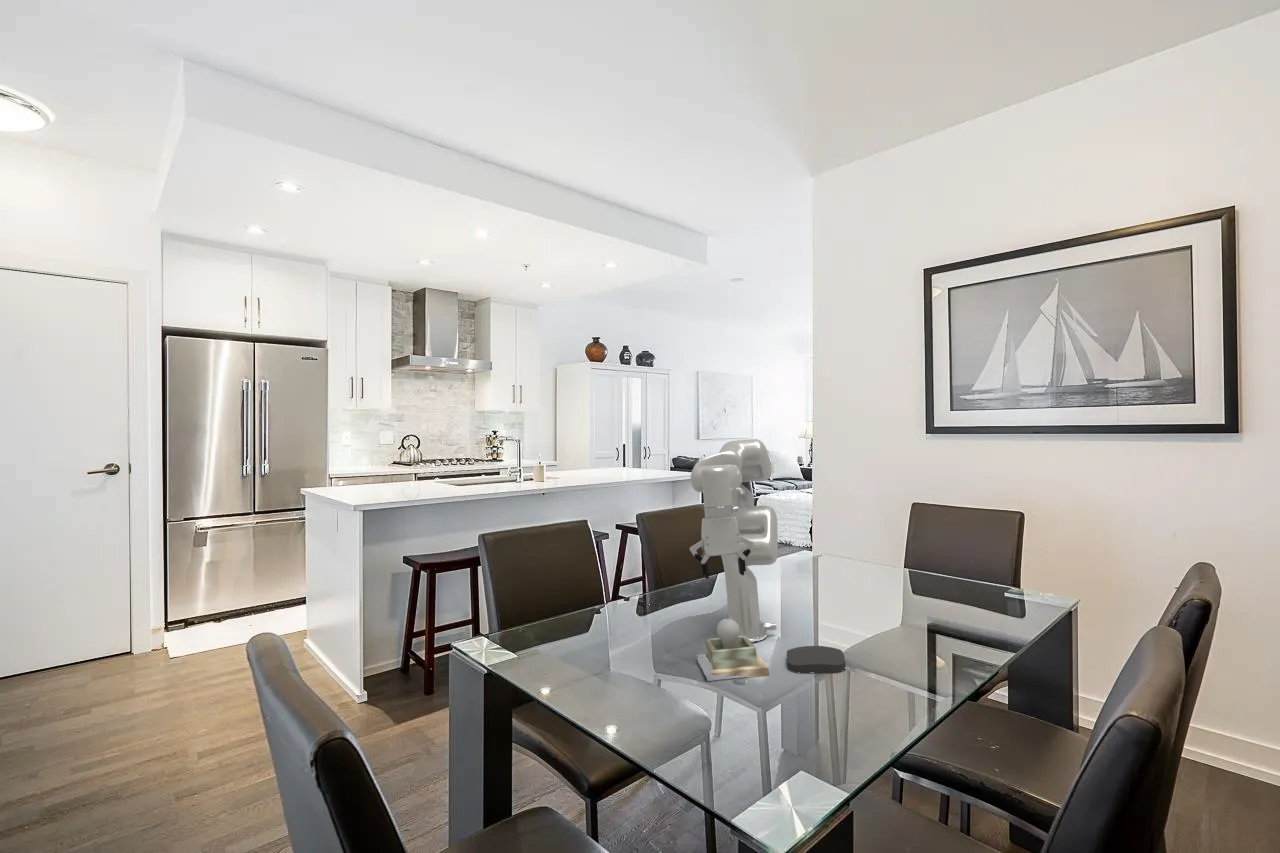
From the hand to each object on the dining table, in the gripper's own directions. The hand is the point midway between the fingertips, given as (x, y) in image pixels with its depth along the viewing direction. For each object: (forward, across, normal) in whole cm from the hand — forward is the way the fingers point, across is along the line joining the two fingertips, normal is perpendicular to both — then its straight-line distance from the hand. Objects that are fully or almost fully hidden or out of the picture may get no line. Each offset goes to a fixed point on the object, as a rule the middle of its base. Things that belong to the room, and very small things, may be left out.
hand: (724, 576), depth 167 cm
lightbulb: (+23, 0, 0) cm, 23 cm away
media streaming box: (+25, -22, +4) cm, 33 cm away
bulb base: (+24, 0, +1) cm, 24 cm away
